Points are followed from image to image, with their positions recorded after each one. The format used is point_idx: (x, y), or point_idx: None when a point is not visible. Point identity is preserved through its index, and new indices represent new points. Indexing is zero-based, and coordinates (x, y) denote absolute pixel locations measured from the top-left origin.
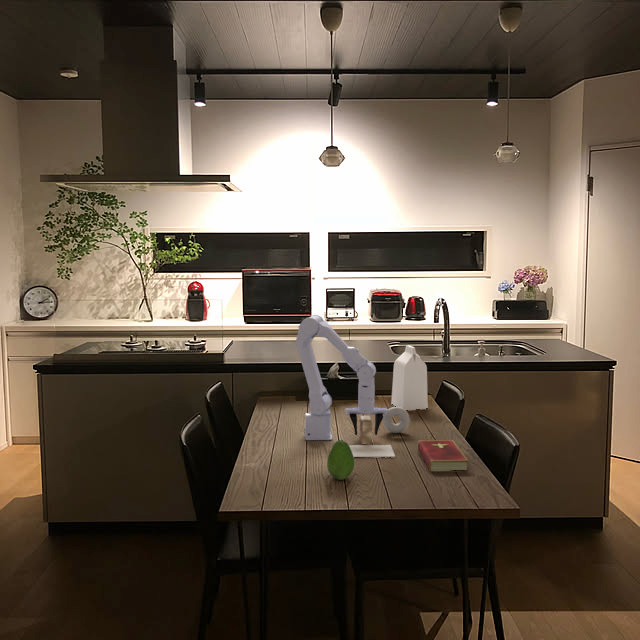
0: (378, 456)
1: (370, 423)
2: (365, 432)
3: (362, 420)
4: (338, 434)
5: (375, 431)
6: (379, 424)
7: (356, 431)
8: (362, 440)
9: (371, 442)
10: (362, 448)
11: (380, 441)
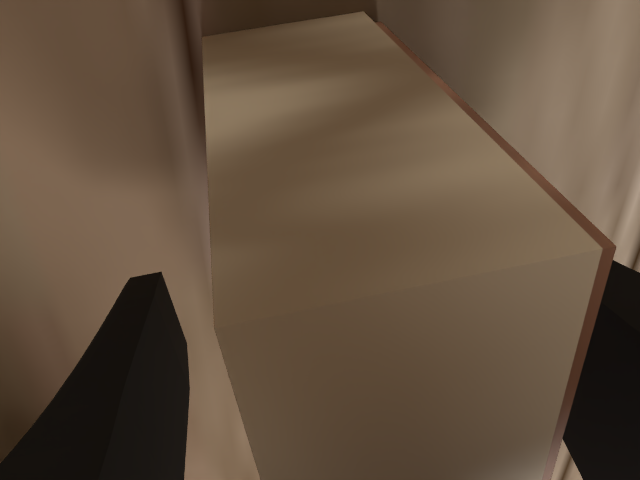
0: None
1: (272, 286)
2: (372, 105)
3: (538, 446)
4: None
5: (150, 307)
6: (18, 450)
7: None
8: (385, 41)
9: (205, 49)
10: None
11: (85, 230)
